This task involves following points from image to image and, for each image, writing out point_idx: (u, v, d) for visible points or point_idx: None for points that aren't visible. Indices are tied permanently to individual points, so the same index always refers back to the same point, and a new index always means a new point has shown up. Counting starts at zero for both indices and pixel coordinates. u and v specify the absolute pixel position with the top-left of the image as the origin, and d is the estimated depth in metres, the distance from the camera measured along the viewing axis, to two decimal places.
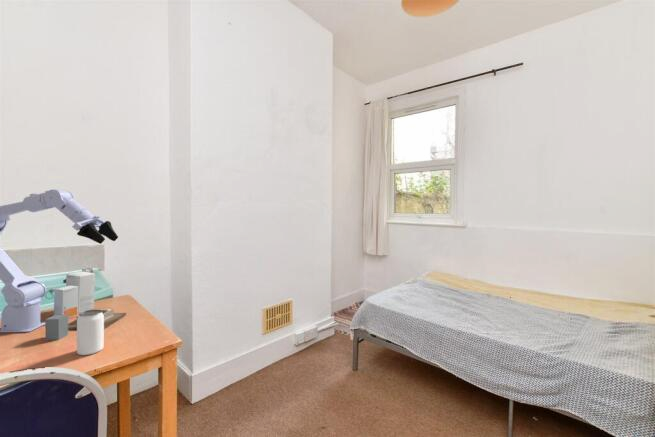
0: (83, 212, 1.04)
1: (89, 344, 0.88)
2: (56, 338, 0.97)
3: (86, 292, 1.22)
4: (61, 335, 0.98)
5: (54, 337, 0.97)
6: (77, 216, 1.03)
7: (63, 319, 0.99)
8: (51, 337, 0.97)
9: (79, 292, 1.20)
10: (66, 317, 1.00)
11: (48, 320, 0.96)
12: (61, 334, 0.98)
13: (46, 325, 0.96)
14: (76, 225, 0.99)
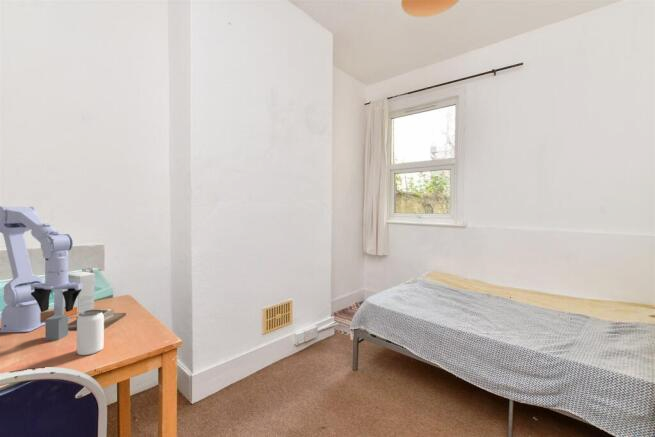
0: (46, 275, 0.95)
1: (89, 343, 0.88)
2: (56, 338, 0.97)
3: (86, 292, 1.22)
4: (61, 335, 0.98)
5: (54, 337, 0.97)
6: None
7: (63, 319, 0.99)
8: (51, 337, 0.97)
9: None
10: (66, 317, 1.00)
11: (48, 320, 0.96)
12: (61, 334, 0.98)
13: (46, 325, 0.96)
14: None
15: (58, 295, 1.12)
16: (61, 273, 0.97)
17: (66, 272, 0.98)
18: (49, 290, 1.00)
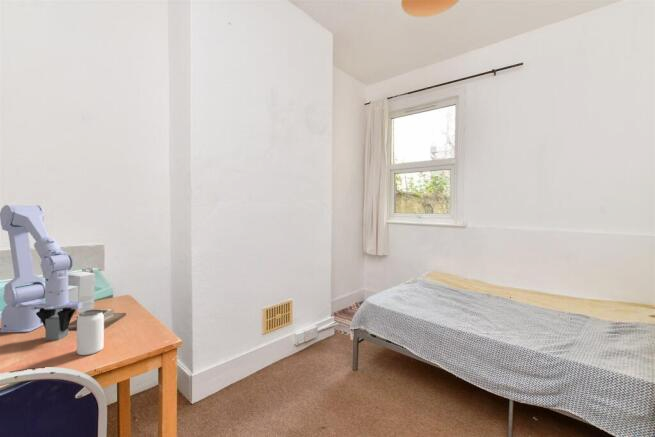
0: (46, 295, 0.96)
1: (89, 344, 0.88)
2: (56, 338, 0.97)
3: (86, 292, 1.22)
4: (61, 335, 0.98)
5: (54, 337, 0.97)
6: None
7: None
8: (51, 337, 0.97)
9: (79, 292, 1.20)
10: None
11: (48, 320, 0.96)
12: (61, 334, 0.98)
13: (46, 325, 0.96)
14: None
15: None
16: (61, 293, 0.97)
17: (66, 292, 0.98)
18: (54, 309, 1.00)
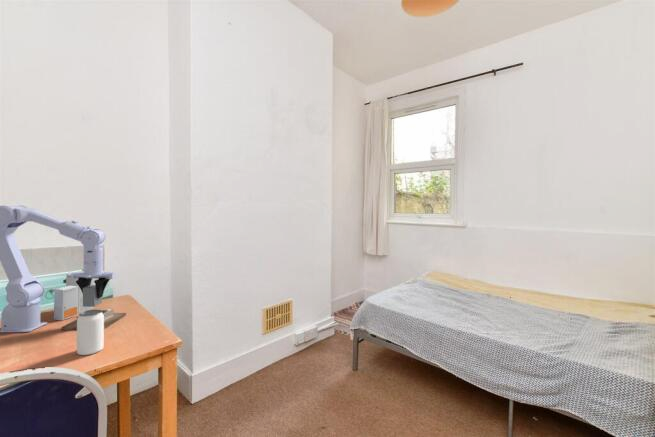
0: (84, 265, 1.08)
1: (89, 343, 0.88)
2: (92, 305, 1.08)
3: None
4: (96, 303, 1.10)
5: (90, 304, 1.08)
6: None
7: None
8: (88, 304, 1.08)
9: (79, 292, 1.20)
10: None
11: (85, 289, 1.08)
12: (96, 302, 1.10)
13: (83, 293, 1.08)
14: None
15: (58, 295, 1.12)
16: (97, 264, 1.09)
17: (101, 263, 1.10)
18: (90, 279, 1.12)
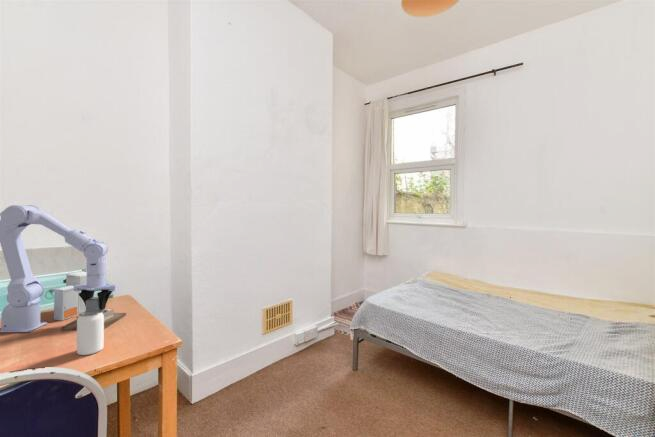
0: (87, 278, 1.09)
1: (89, 344, 0.88)
2: None
3: None
4: None
5: None
6: None
7: None
8: None
9: (79, 292, 1.20)
10: None
11: (88, 301, 1.09)
12: None
13: (86, 305, 1.09)
14: None
15: (58, 295, 1.12)
16: (100, 276, 1.10)
17: (104, 275, 1.12)
18: (93, 291, 1.13)
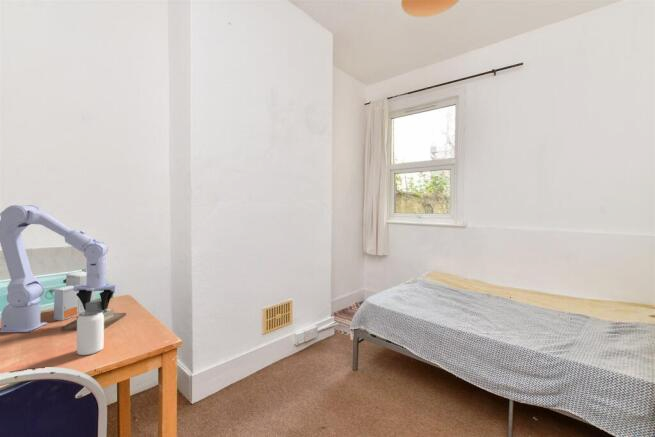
0: (87, 278, 1.09)
1: (89, 343, 0.88)
2: None
3: None
4: None
5: None
6: None
7: (100, 304, 1.11)
8: None
9: None
10: None
11: (88, 304, 1.09)
12: None
13: (86, 309, 1.09)
14: None
15: (58, 295, 1.12)
16: (100, 276, 1.10)
17: (104, 275, 1.12)
18: (90, 291, 1.13)
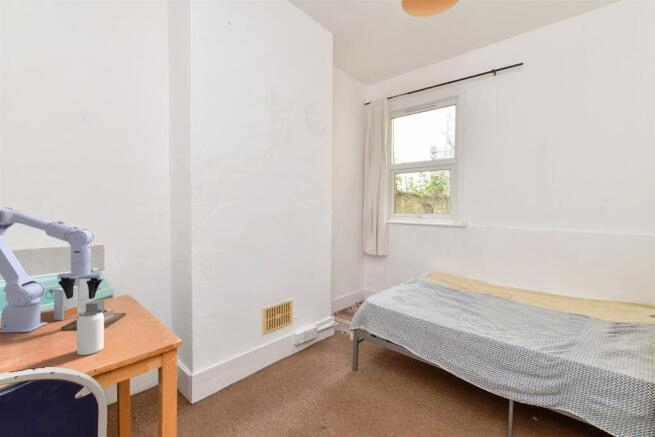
0: (71, 266, 1.06)
1: (89, 343, 0.88)
2: None
3: (86, 292, 1.22)
4: None
5: None
6: None
7: (101, 304, 1.12)
8: None
9: (79, 292, 1.20)
10: (103, 302, 1.13)
11: (88, 304, 1.09)
12: None
13: (86, 309, 1.09)
14: None
15: (58, 295, 1.12)
16: (85, 264, 1.08)
17: (89, 263, 1.09)
18: (73, 280, 1.10)
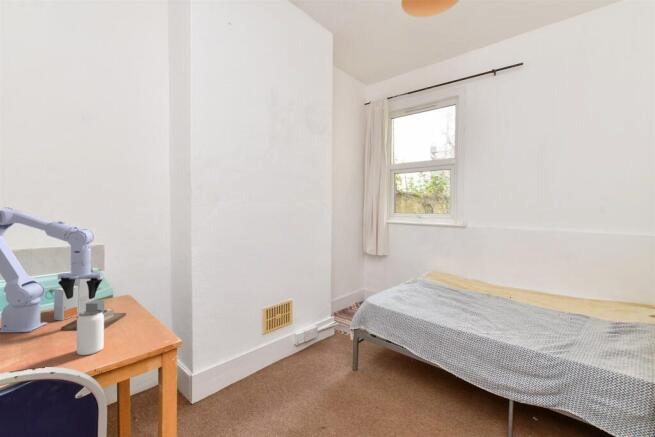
0: (71, 266, 1.06)
1: (89, 343, 0.88)
2: None
3: (86, 292, 1.22)
4: None
5: None
6: None
7: (101, 304, 1.12)
8: None
9: (79, 292, 1.20)
10: (103, 302, 1.13)
11: (88, 304, 1.09)
12: None
13: (86, 309, 1.09)
14: None
15: (58, 295, 1.12)
16: (85, 264, 1.08)
17: (89, 263, 1.09)
18: (73, 280, 1.10)
